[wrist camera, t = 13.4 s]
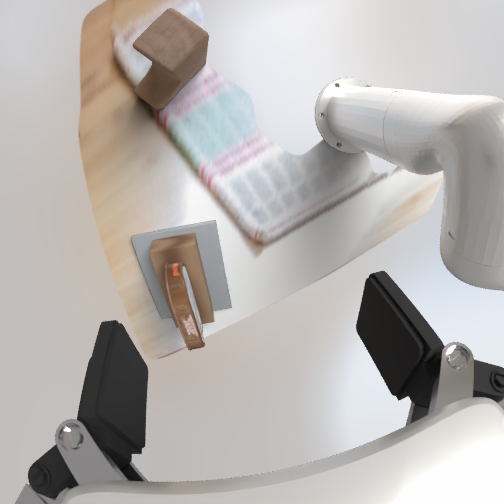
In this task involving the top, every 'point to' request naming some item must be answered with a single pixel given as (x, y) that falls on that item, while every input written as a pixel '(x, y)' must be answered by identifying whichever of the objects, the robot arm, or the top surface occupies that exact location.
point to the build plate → (209, 257)
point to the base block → (187, 252)
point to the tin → (184, 304)
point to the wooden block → (170, 56)
